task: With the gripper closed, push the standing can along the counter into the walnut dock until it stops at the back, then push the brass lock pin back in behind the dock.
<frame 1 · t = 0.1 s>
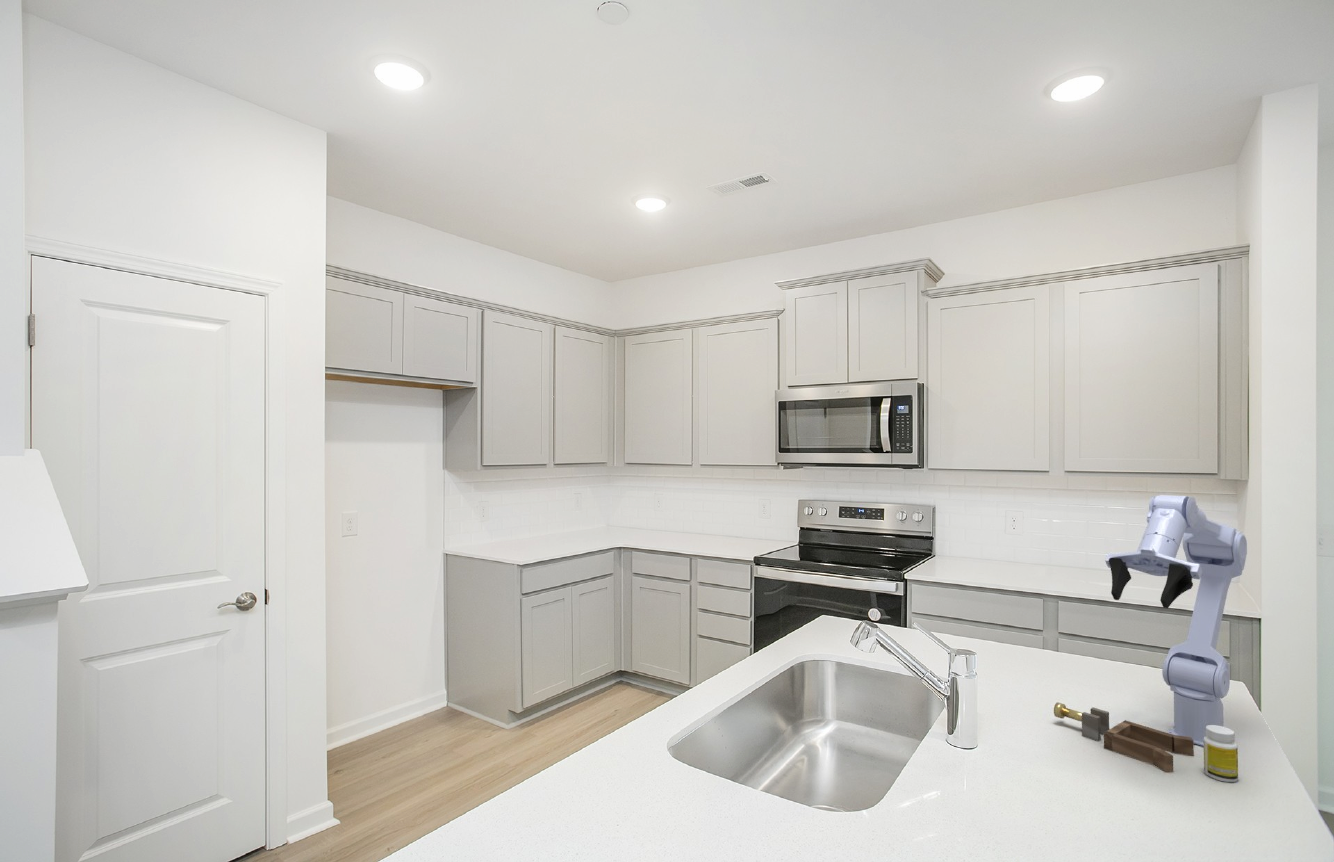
hand: (1138, 600, 119), 32 cm above the countertop, tool tilted 50°, fingers open, 7 cm apart
lock pin: (1075, 715, 140), point 3 cm above the countertop, slide at 3.5 cm
supplement bottle: (1220, 777, 120), on the countertop
dock: (1143, 750, 130), on the countertop
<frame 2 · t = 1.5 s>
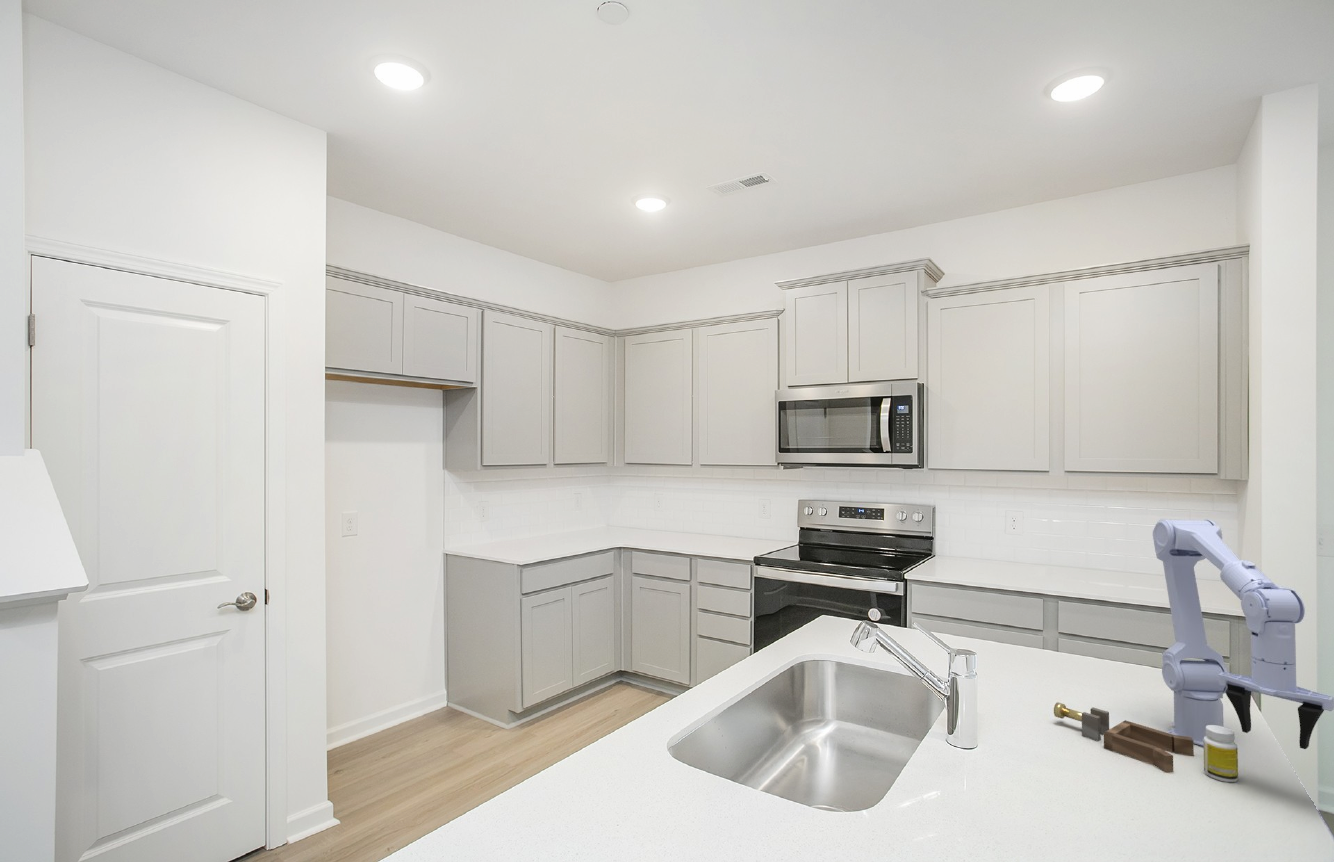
hand: (1274, 738, 114), 9 cm above the countertop, tool pointing down, fingers open, 7 cm apart
nothing on the countertop moved.
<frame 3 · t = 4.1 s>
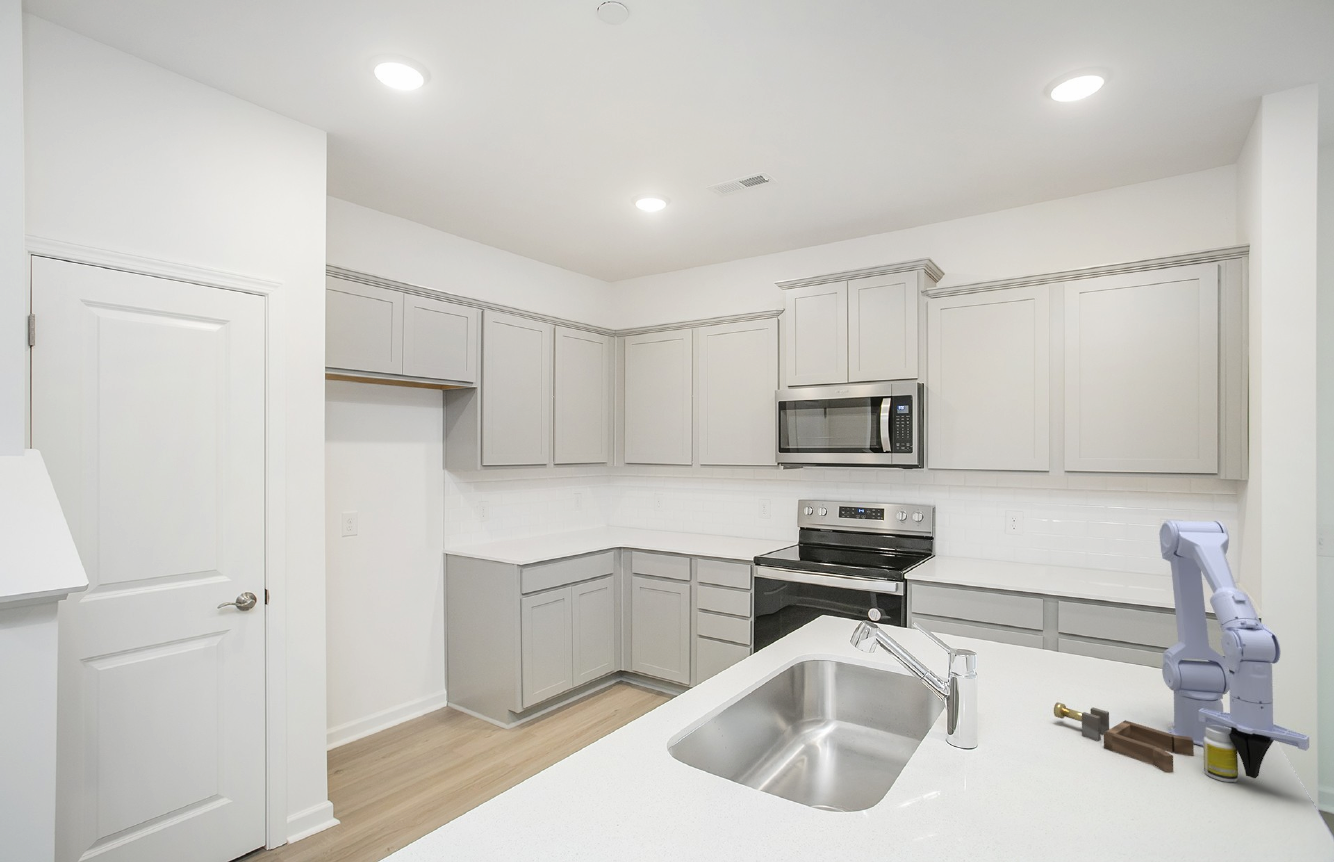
hand: (1252, 775, 116), 2 cm above the countertop, tool pointing down, fingers closed
supplement bottle: (1220, 777, 120), on the countertop, touching gripper
everything else where it was.
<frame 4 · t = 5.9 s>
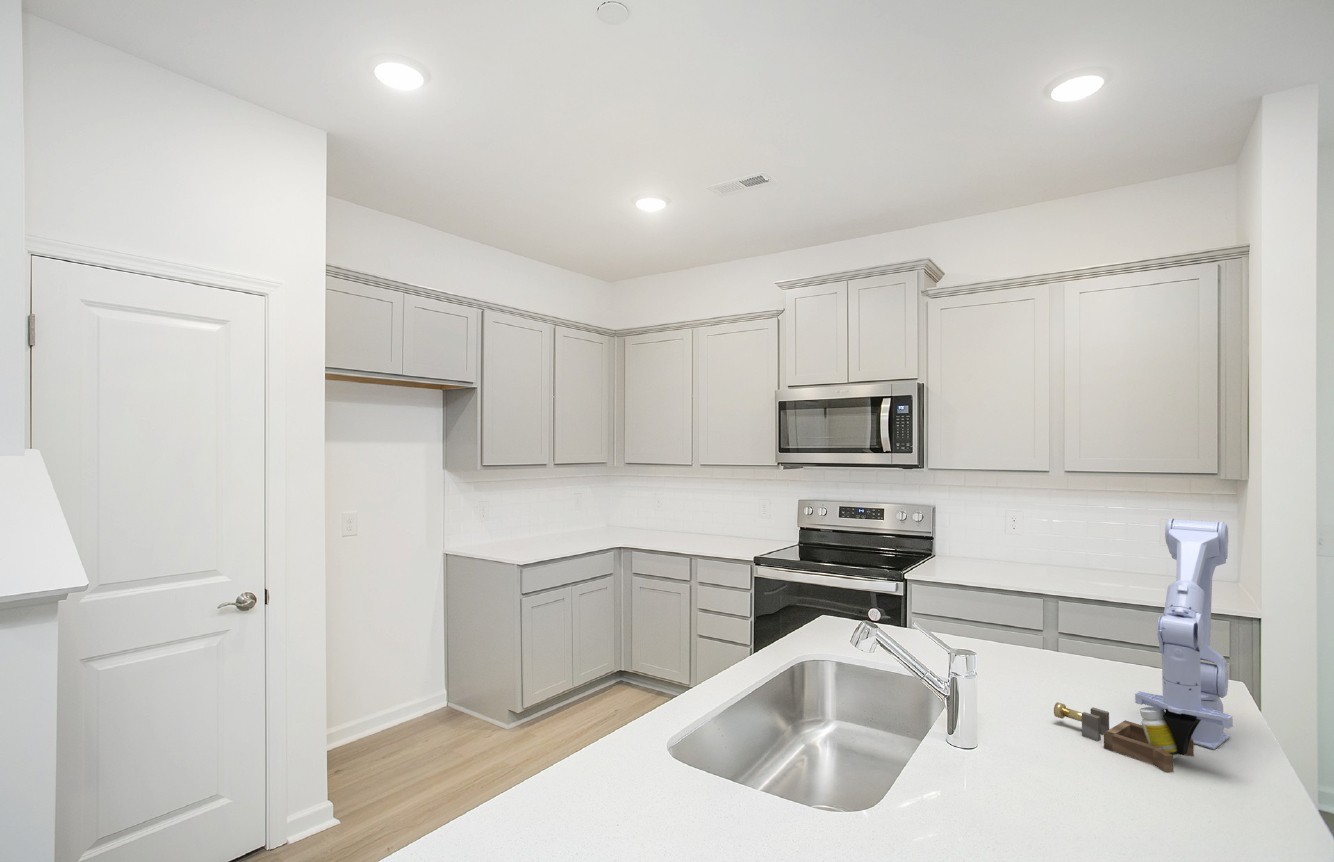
hand: (1182, 753, 125), 2 cm above the countertop, tool pointing down, fingers closed
supplement bottle: (1167, 756, 126), on the countertop, touching gripper
everything else where it was.
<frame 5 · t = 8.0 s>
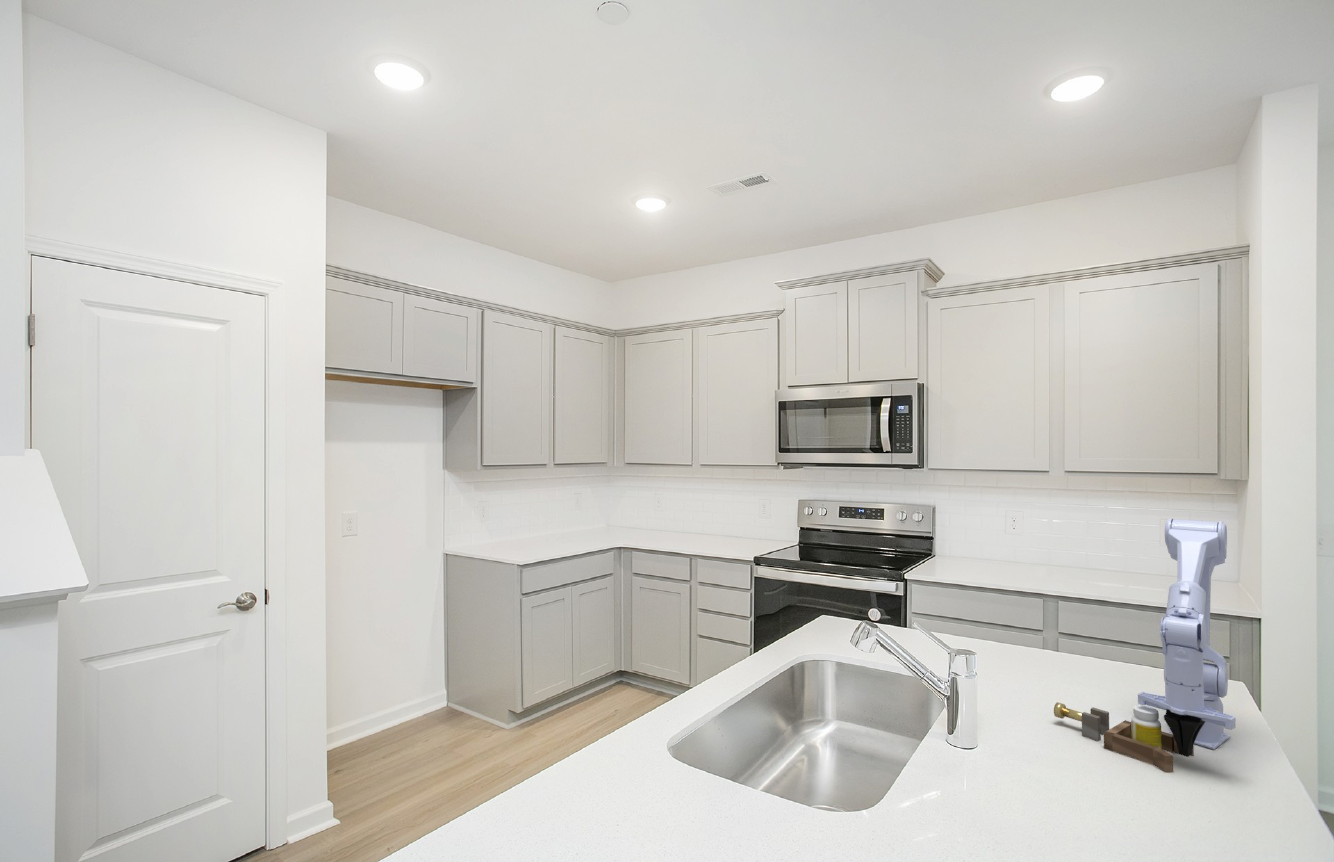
hand: (1185, 754, 124), 2 cm above the countertop, tool pointing down, fingers closed
supplement bottle: (1146, 753, 129), on the countertop
everything else where it was.
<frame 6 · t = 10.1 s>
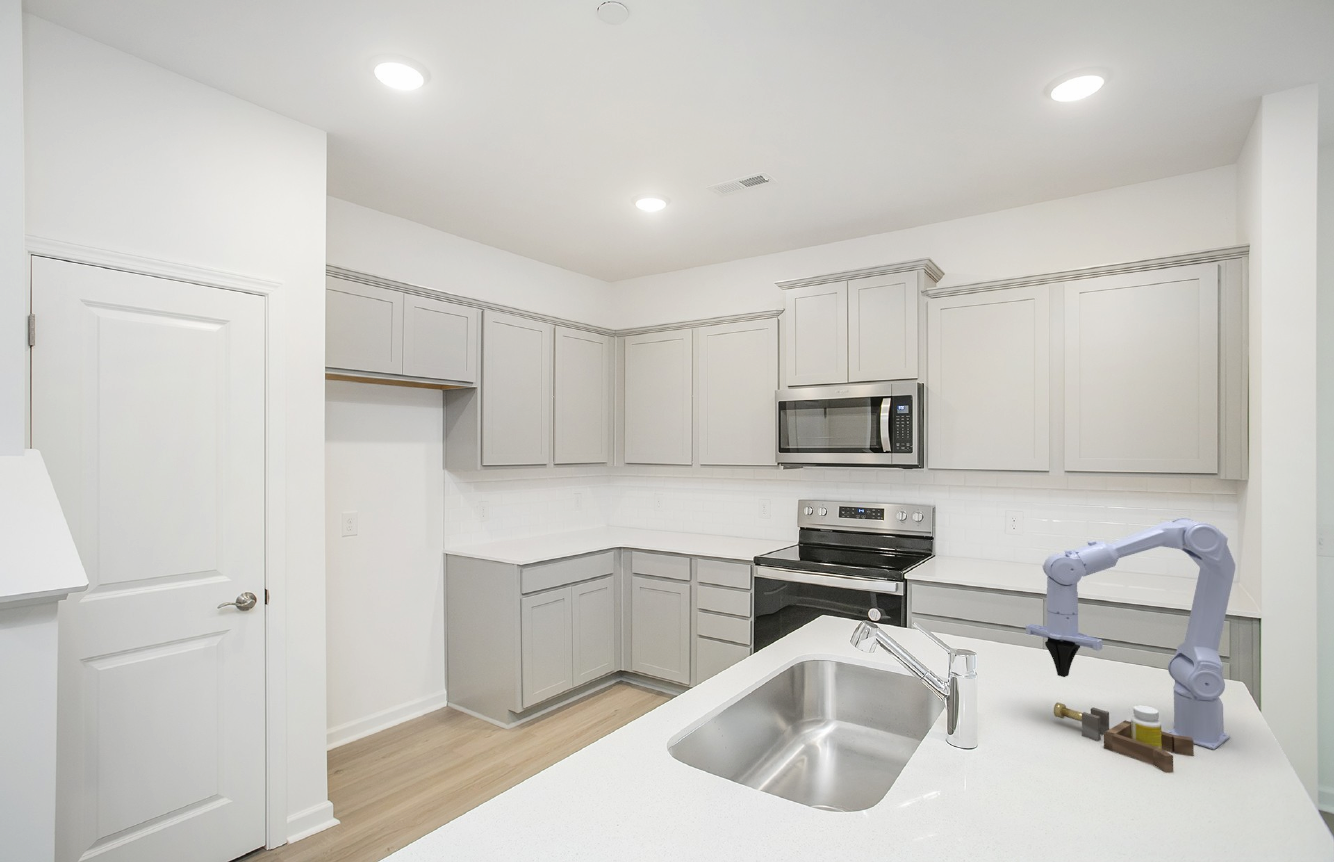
hand: (1063, 675, 142), 11 cm above the countertop, tool pointing down, fingers closed
nothing on the countertop moved.
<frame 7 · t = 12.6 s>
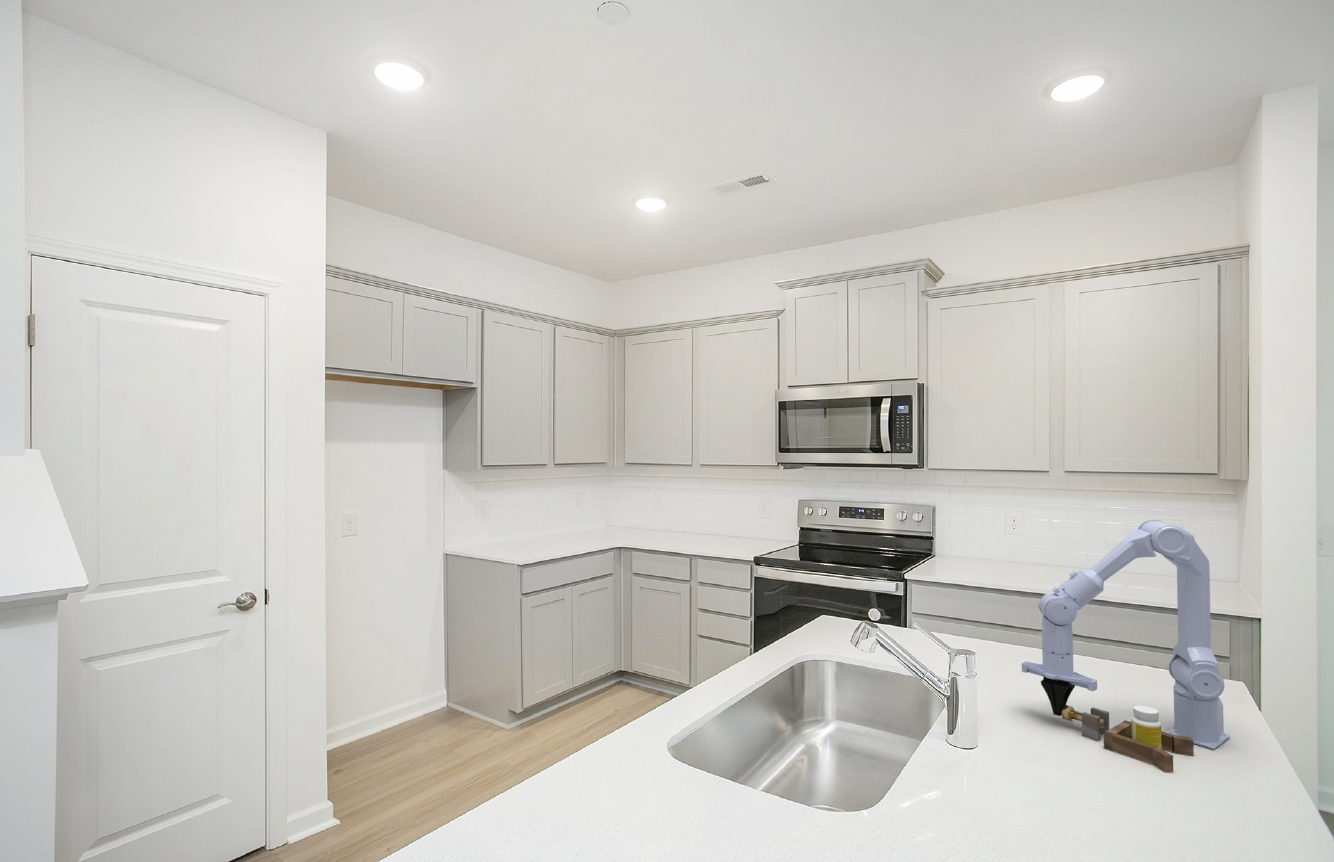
hand: (1058, 714, 143), 2 cm above the countertop, tool pointing down, fingers closed
lock pin: (1083, 717, 139), point 3 cm above the countertop, slide at 1.9 cm, touching gripper
everything else where it was.
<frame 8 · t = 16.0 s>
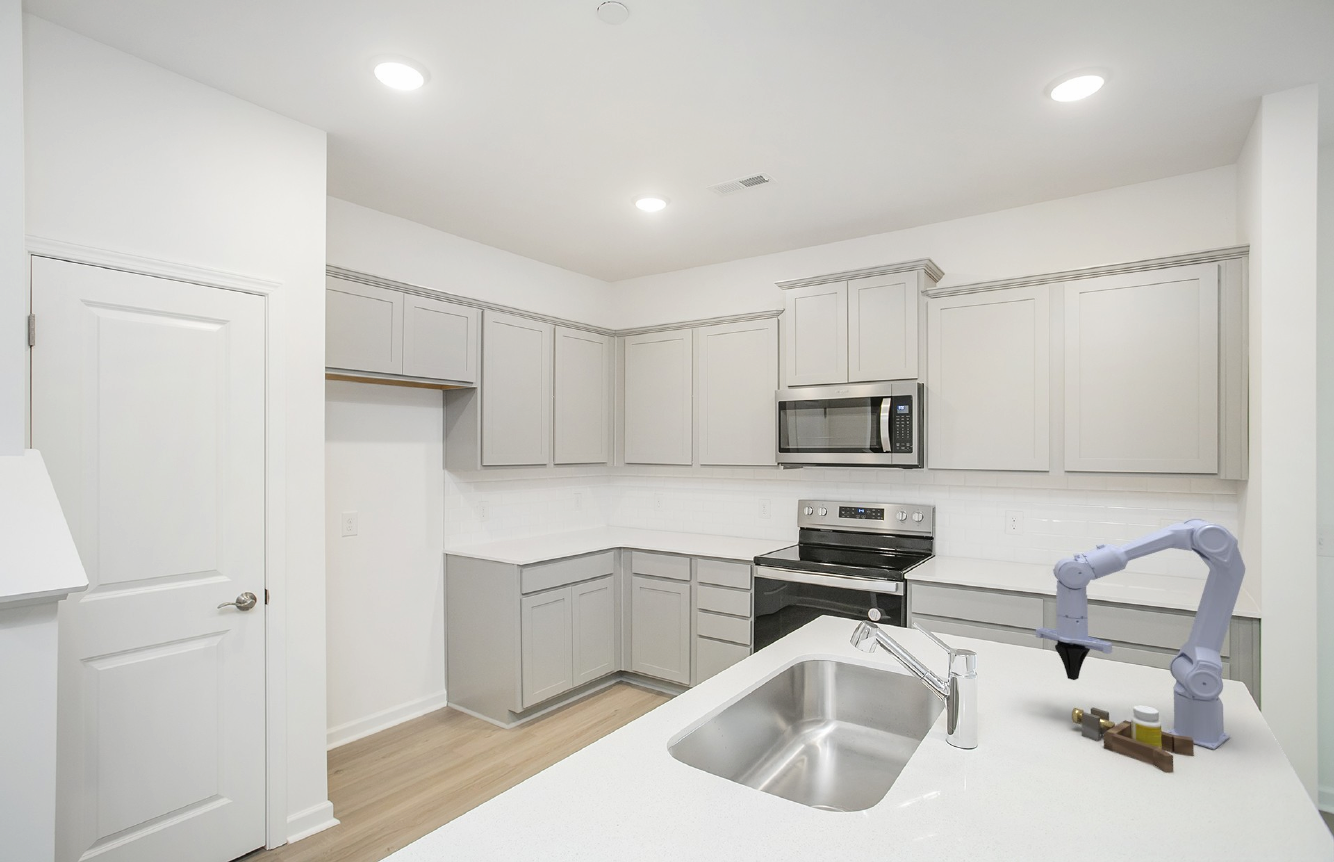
hand: (1073, 678, 143), 9 cm above the countertop, tool pointing down, fingers closed
lock pin: (1093, 721, 137), point 3 cm above the countertop, slide at -0.1 cm
everything else where it was.
at the end: supplement bottle 1.3 cm off-centre on the dock, point 0.0 cm above the dock's base; supplement bottle tilted 0°; lock pin slide at -0.1 cm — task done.
